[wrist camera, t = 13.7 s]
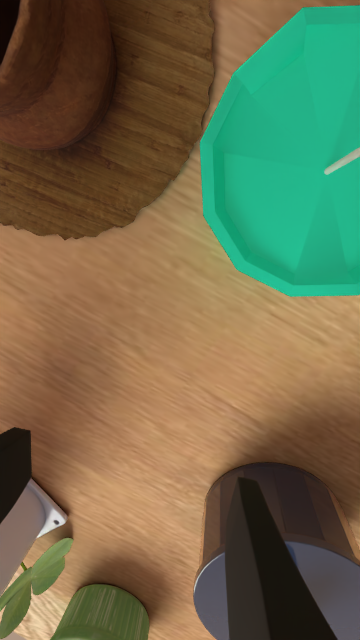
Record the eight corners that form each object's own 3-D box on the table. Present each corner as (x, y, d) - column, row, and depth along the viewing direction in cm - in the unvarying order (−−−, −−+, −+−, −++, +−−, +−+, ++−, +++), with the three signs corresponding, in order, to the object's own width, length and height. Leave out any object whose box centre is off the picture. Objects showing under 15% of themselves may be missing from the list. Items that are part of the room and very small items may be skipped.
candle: (347, 201, 16) (689, 111, 4) (265, 283, 17) (345, 376, 6) (267, 121, 15) (405, -232, 4) (191, 214, 17) (125, 173, 5)
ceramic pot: (52, 295, 19) (-38, 328, 13) (-153, 58, 17) (-398, -56, 10) (287, 81, 14) (344, -52, 8) (42, -305, 12) (-194, -1010, 5)
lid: (257, 662, 20) (265, 771, 16) (161, 558, 18) (143, 651, 14) (415, 621, 17) (476, 745, 13) (315, 493, 15) (349, 587, 11)
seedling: (58, 494, 32) (92, 539, 28) (2, 567, 29) (32, 628, 26) (9, 485, 27) (43, 540, 23) (-65, 575, 24) (-40, 653, 20)
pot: (251, 578, 25) (259, 672, 19) (179, 495, 23) (165, 572, 18) (367, 537, 22) (413, 634, 16) (292, 440, 20) (317, 511, 15)
